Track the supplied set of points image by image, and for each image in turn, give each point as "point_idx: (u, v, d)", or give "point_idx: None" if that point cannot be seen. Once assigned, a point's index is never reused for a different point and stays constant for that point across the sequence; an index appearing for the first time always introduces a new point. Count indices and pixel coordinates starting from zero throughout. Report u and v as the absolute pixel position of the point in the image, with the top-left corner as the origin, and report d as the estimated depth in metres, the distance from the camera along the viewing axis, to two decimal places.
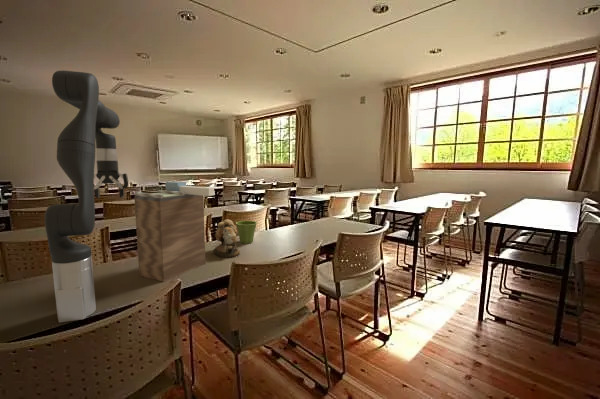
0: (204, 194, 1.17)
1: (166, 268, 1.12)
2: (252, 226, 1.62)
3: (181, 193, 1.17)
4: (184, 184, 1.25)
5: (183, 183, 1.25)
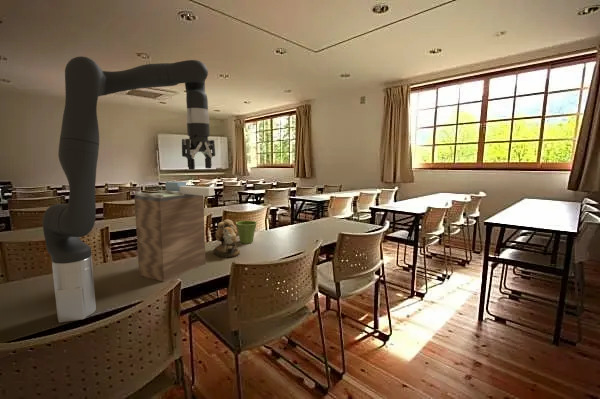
0: (204, 194, 1.17)
1: (166, 268, 1.12)
2: (252, 226, 1.62)
3: (181, 193, 1.17)
4: (184, 184, 1.25)
5: (183, 183, 1.25)
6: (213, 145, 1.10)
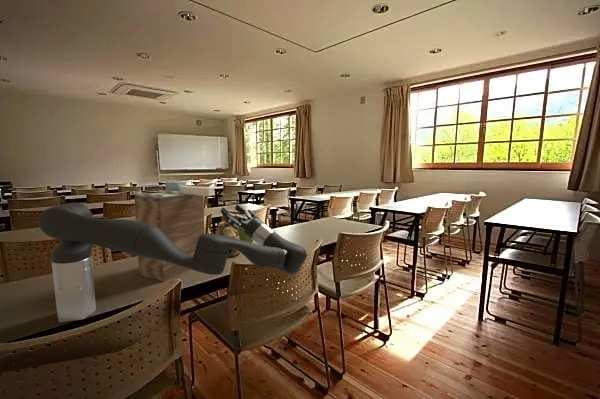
0: (204, 194, 1.17)
1: (166, 268, 1.12)
2: None
3: (181, 193, 1.17)
4: (184, 184, 1.25)
5: (183, 183, 1.25)
6: None
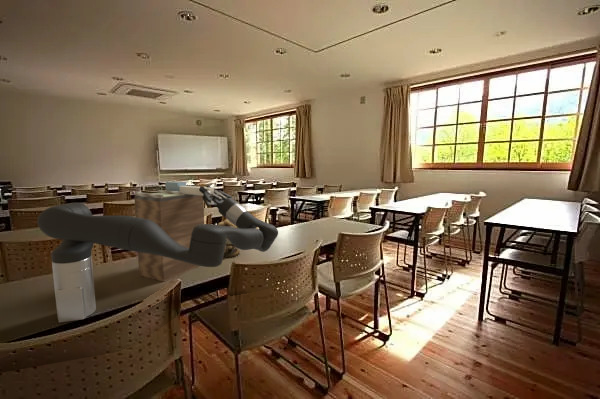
0: None
1: (166, 268, 1.12)
2: None
3: (181, 193, 1.17)
4: (184, 184, 1.25)
5: (183, 183, 1.25)
6: None
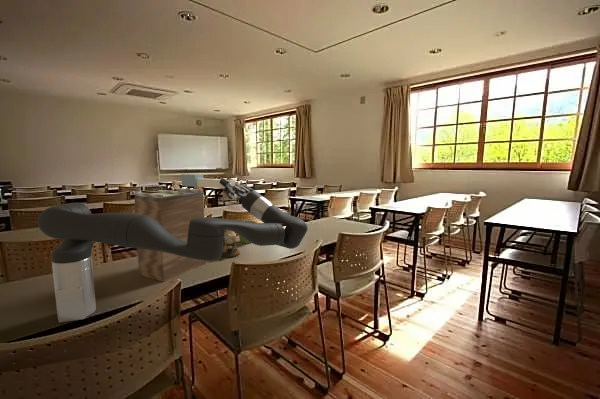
0: None
1: (166, 268, 1.12)
2: None
3: (181, 193, 1.17)
4: (201, 176, 1.15)
5: (201, 175, 1.15)
6: None
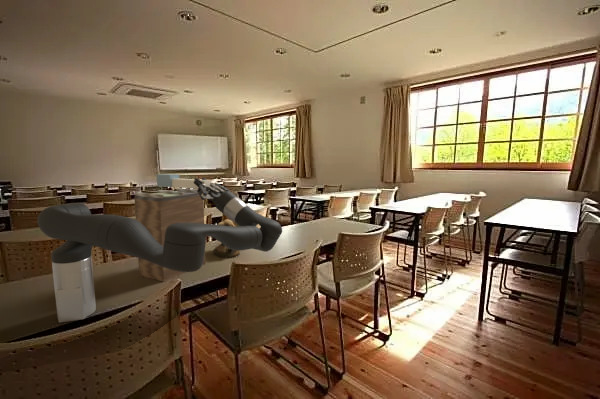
0: None
1: (166, 268, 1.12)
2: None
3: (181, 193, 1.17)
4: (177, 177, 1.12)
5: (176, 175, 1.12)
6: None
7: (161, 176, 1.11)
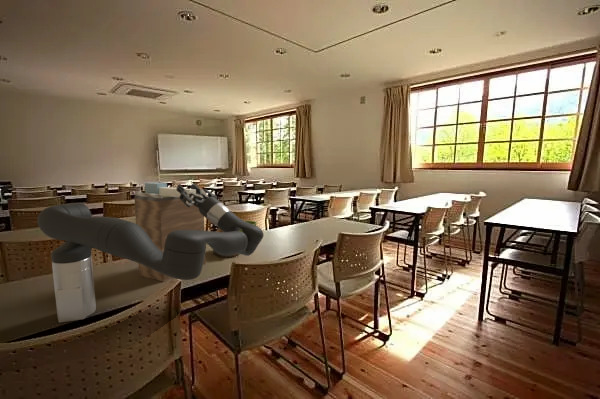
0: None
1: None
2: None
3: None
4: (165, 185, 1.16)
5: (164, 184, 1.16)
6: None
7: (149, 185, 1.15)
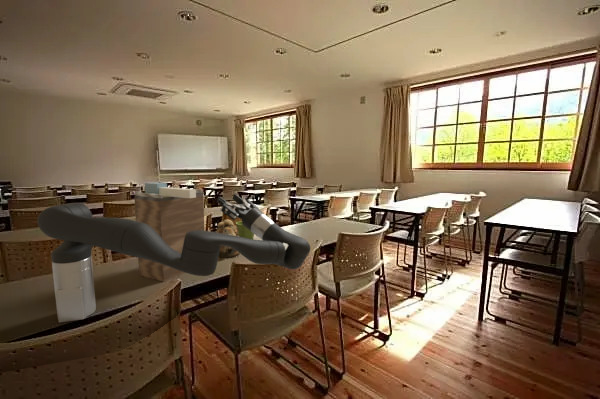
0: (185, 196, 1.08)
1: (166, 268, 1.12)
2: None
3: None
4: (165, 185, 1.16)
5: (164, 184, 1.16)
6: None
7: (149, 185, 1.15)
